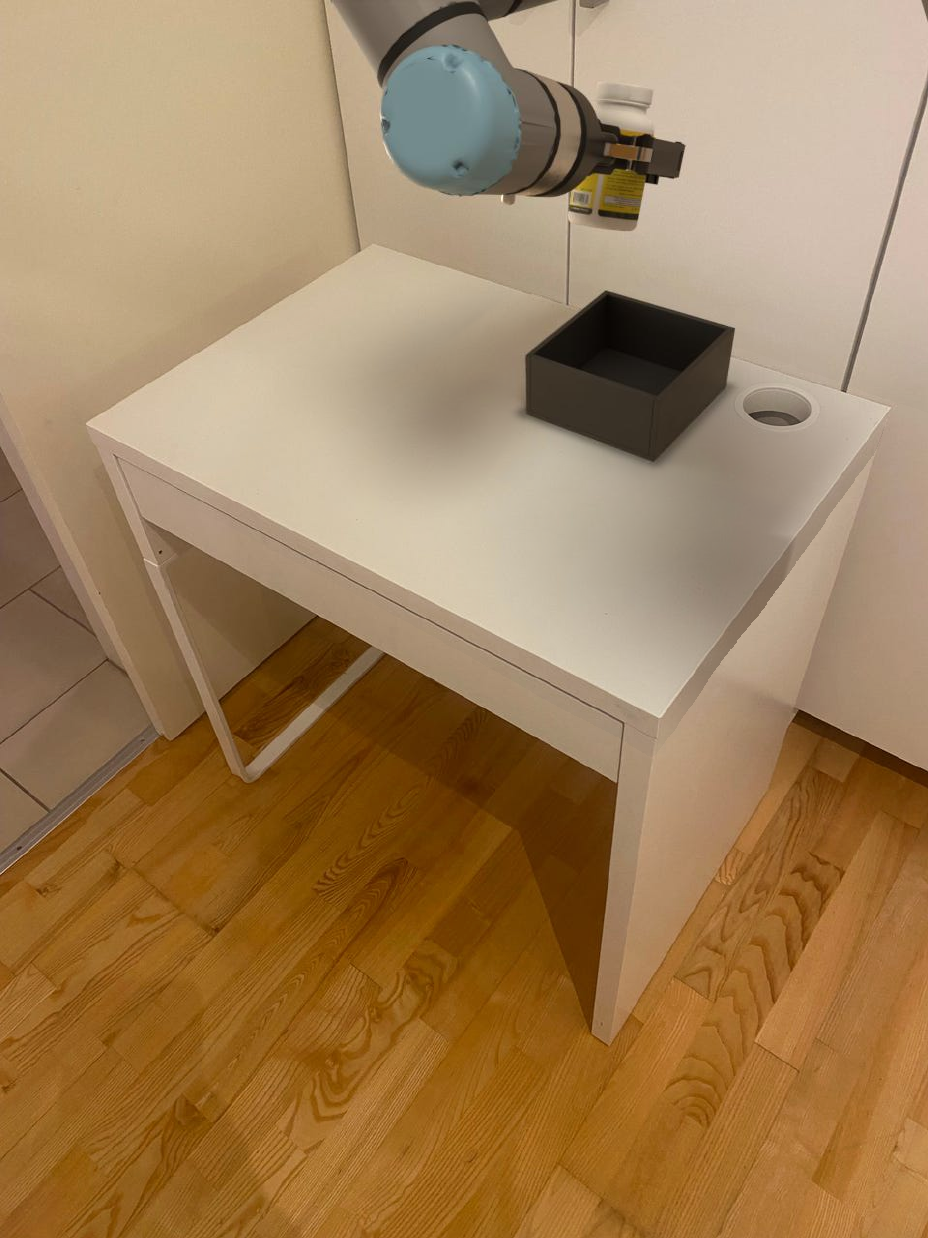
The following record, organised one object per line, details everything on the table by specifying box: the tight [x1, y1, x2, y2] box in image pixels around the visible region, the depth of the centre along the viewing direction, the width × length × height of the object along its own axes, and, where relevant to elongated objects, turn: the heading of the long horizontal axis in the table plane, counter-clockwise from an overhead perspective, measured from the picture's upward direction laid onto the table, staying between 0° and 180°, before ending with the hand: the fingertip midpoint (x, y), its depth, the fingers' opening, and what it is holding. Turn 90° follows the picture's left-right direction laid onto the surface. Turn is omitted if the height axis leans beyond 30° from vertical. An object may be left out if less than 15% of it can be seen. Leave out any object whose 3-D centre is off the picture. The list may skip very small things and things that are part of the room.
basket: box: [524, 289, 736, 462], centre depth 92 cm, size 14×14×6 cm
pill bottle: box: [567, 81, 655, 232], centre depth 82 cm, size 6×6×11 cm
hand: (631, 155), depth 86 cm, fingers closed on pill bottle, 6 cm apart
